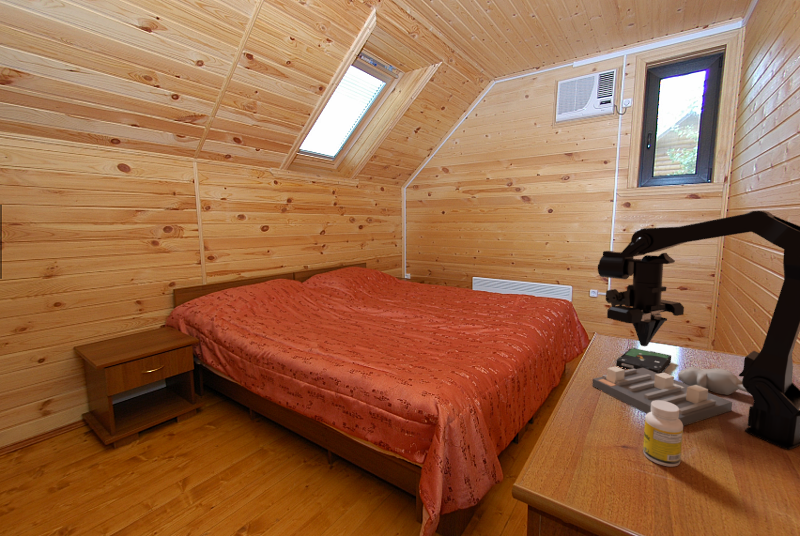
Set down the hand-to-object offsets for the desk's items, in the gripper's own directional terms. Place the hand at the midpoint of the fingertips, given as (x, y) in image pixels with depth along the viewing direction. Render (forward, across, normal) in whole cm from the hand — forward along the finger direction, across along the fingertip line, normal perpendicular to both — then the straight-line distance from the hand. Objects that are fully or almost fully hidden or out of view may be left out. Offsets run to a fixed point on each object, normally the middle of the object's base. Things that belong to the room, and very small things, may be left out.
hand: (643, 345), depth 87 cm
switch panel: (+12, 0, +3) cm, 12 cm away
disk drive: (+12, -17, -11) cm, 23 cm away
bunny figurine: (+12, -18, +6) cm, 22 cm away
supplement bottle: (+12, +21, +18) cm, 30 cm away
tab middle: (+10, -3, +4) cm, 10 cm away
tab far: (+9, +4, -4) cm, 11 cm away
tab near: (+10, -2, +11) cm, 15 cm away
